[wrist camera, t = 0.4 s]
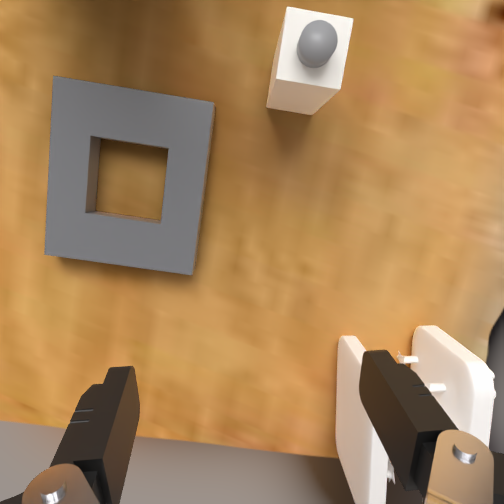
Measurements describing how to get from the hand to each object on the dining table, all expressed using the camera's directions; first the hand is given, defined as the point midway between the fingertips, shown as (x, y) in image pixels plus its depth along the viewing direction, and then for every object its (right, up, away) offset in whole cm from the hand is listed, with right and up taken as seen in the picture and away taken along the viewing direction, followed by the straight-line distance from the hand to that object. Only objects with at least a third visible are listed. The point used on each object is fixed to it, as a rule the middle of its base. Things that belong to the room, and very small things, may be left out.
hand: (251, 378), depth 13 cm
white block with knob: (+4, +20, +22) cm, 30 cm away
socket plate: (-12, +11, +24) cm, 29 cm away
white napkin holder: (+14, -10, +29) cm, 34 cm away
